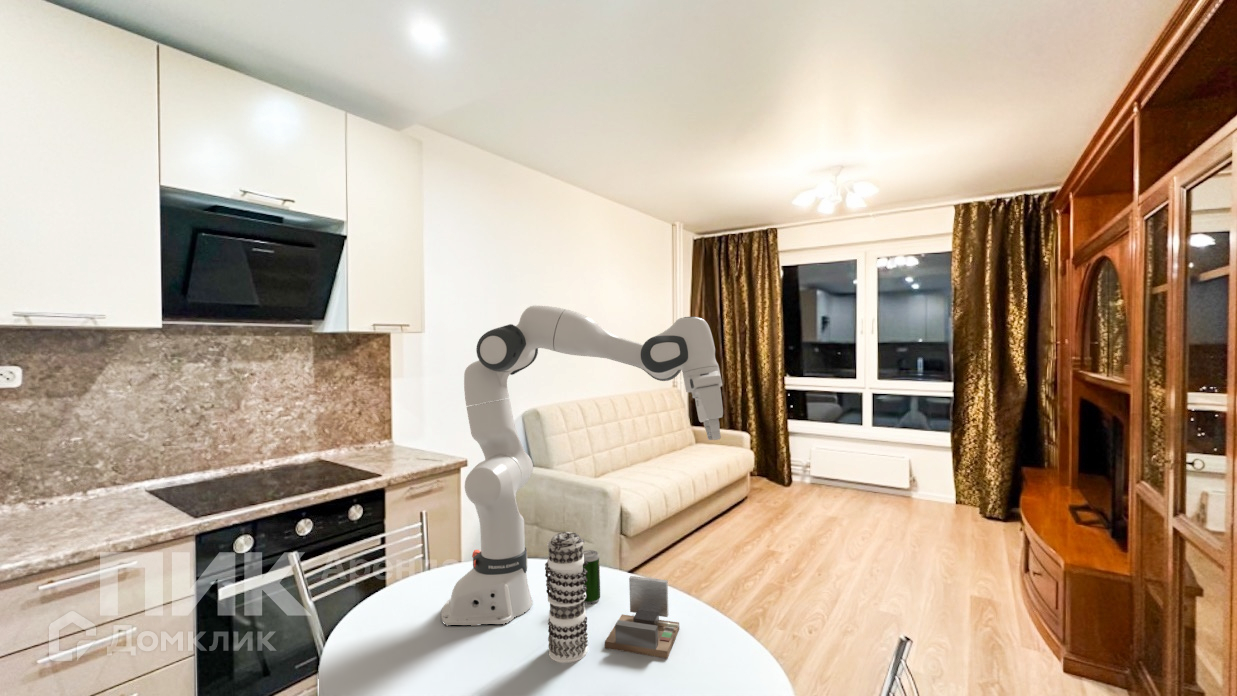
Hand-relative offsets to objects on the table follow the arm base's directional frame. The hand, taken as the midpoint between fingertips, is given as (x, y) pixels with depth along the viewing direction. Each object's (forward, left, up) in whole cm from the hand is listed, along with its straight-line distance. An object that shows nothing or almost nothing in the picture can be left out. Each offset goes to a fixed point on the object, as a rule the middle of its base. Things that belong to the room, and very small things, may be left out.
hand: (714, 439), depth 121 cm
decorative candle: (-36, -2, -44) cm, 57 cm away
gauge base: (-19, -1, -43) cm, 47 cm away
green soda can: (-28, +20, -44) cm, 56 cm away
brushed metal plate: (-16, +1, -42) cm, 45 cm away
